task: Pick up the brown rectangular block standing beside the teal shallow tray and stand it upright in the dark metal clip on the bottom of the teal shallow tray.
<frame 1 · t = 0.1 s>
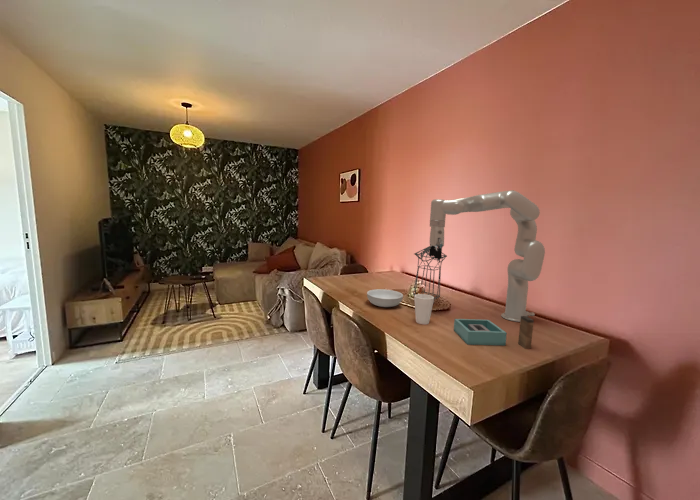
hand: (434, 257, 162), 31 cm above the table, tool pointing down, fingers open, 9 cm apart
serving bowl: (384, 305, 183), on the table
teal shallow tray: (478, 337, 138), on the table
geometric lantern: (427, 303, 191), on the table
brown rectangular block: (524, 346, 131), on the table
foam cup: (422, 322, 156), on the table
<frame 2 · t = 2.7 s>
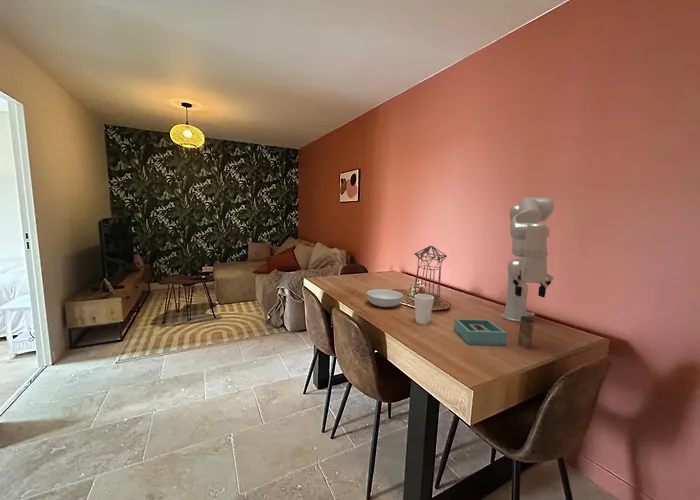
hand: (529, 296, 128), 21 cm above the table, tool pointing down, fingers open, 9 cm apart
nothing on the table moved.
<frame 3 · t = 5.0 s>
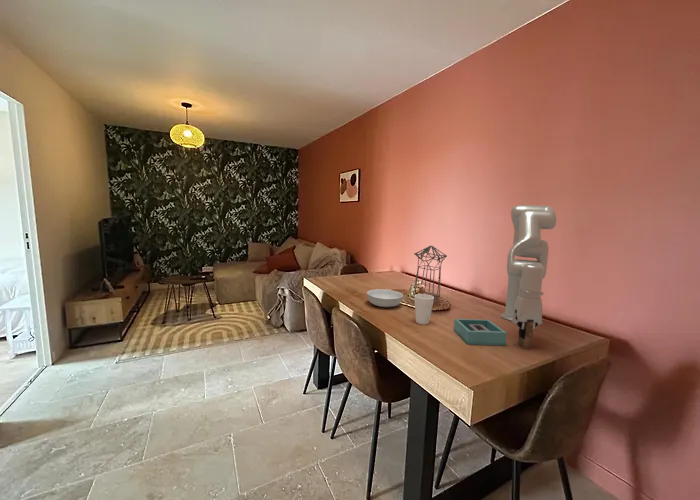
hand: (525, 337, 130), 4 cm above the table, tool pointing down, fingers closed on brown rectangular block, 2 cm apart
brown rectangular block: (524, 346, 131), on the table, touching gripper
everything else where it was.
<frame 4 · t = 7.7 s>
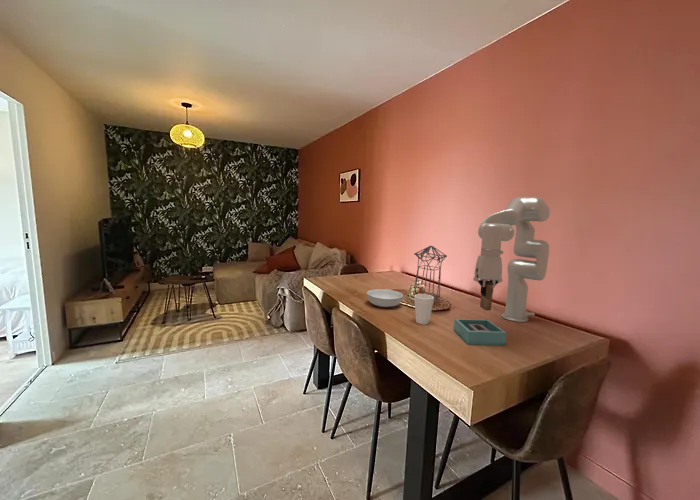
hand: (486, 295, 135), 19 cm above the table, tool pointing down, fingers closed on brown rectangular block
brown rectangular block: (485, 308, 136), point 13 cm above the table, touching gripper
everything else where it was.
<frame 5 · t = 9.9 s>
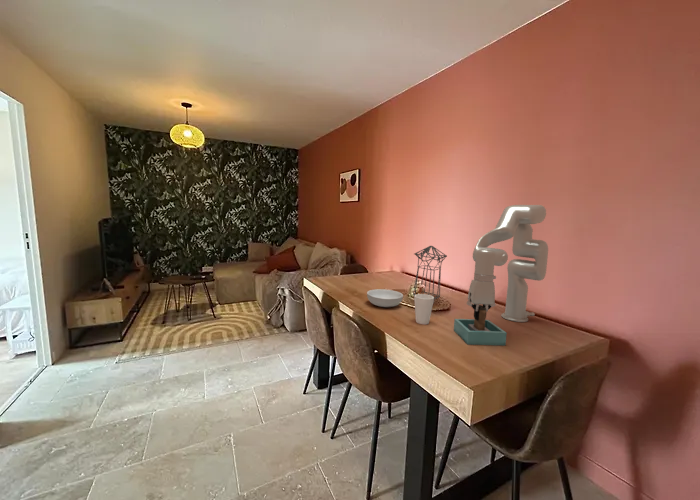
hand: (479, 319, 137), 8 cm above the table, tool pointing down, fingers closed on brown rectangular block, 2 cm apart
brown rectangular block: (478, 333, 138), point 2 cm above the table, touching gripper
everything else where it was.
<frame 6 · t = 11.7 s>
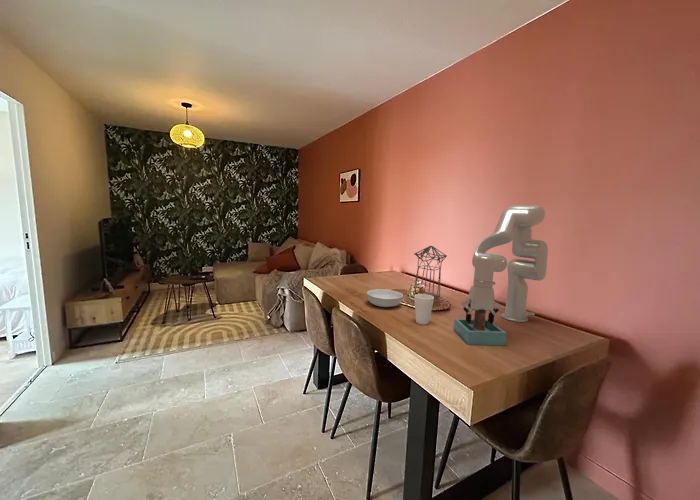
hand: (479, 322, 138), 7 cm above the table, tool pointing down, fingers open, 9 cm apart
brown rectangular block: (478, 335, 138), point 1 cm above the table, touching teal shallow tray
everything else where it was.
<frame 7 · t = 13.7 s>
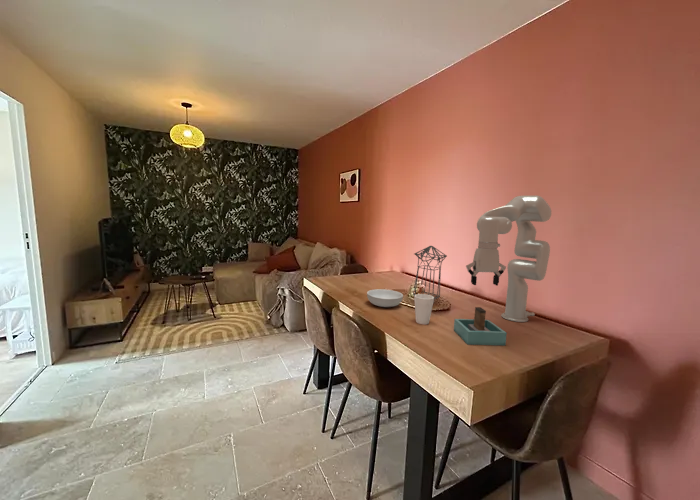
hand: (484, 284, 138), 23 cm above the table, tool pointing down, fingers open, 9 cm apart
nothing on the table moved.
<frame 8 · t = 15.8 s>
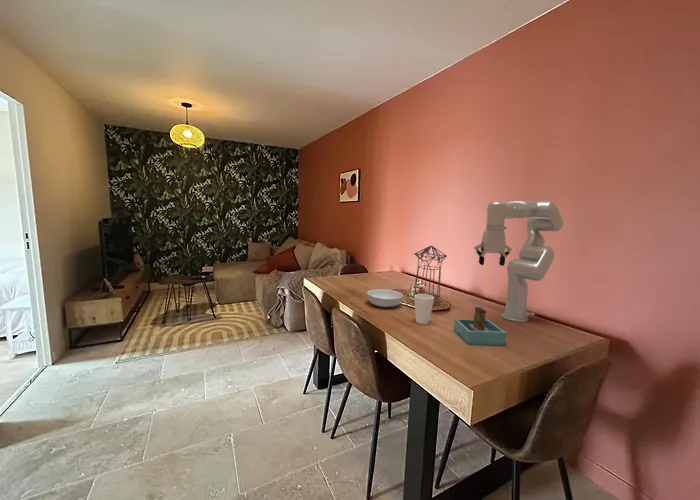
hand: (491, 265, 149), 30 cm above the table, tool pointing down, fingers open, 9 cm apart
nothing on the table moved.
at the end: brown rectangular block 0.4 cm off-centre on the teal shallow tray, point 1.0 cm above the teal shallow tray's base; brown rectangular block tilted 0°; the gripper is holding nothing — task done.
